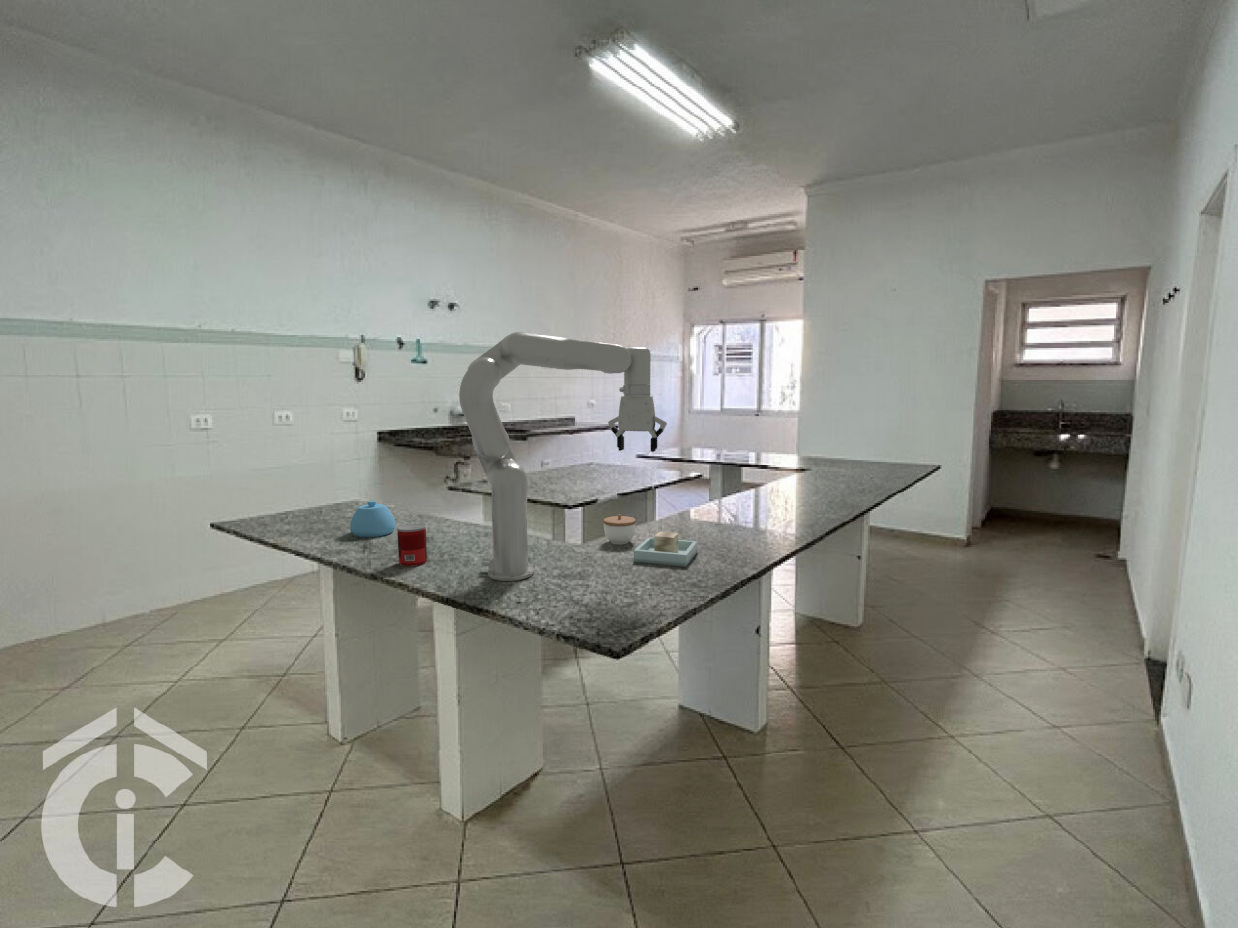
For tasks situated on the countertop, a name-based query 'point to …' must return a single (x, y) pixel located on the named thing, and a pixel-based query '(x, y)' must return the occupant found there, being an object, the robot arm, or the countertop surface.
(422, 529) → the canned food
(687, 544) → the teal tray
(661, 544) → the birch block
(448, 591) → the countertop surface
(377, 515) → the sugar bowl
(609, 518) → the lidded jar
